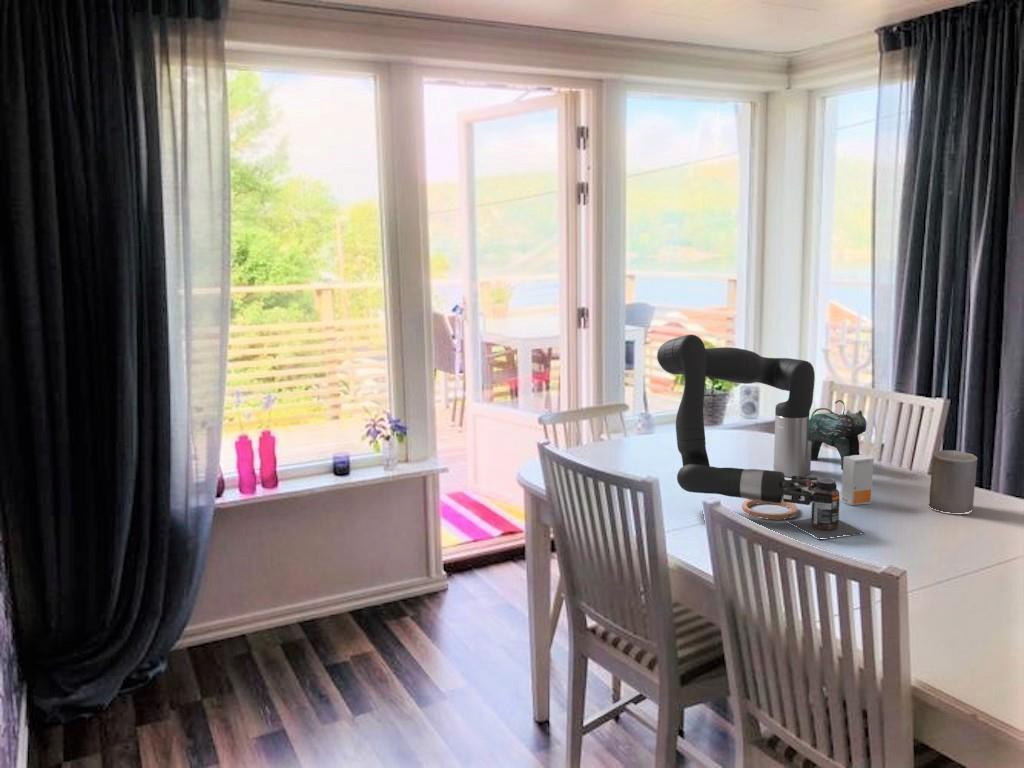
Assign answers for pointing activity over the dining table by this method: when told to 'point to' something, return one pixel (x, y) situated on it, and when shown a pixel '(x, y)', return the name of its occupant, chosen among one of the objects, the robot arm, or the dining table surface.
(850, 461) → the skincare box
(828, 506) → the supplement bottle
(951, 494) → the pillar candle
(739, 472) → the robot arm
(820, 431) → the ceramic cat
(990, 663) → the dining table surface
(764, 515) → the wooden ring
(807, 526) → the mat
